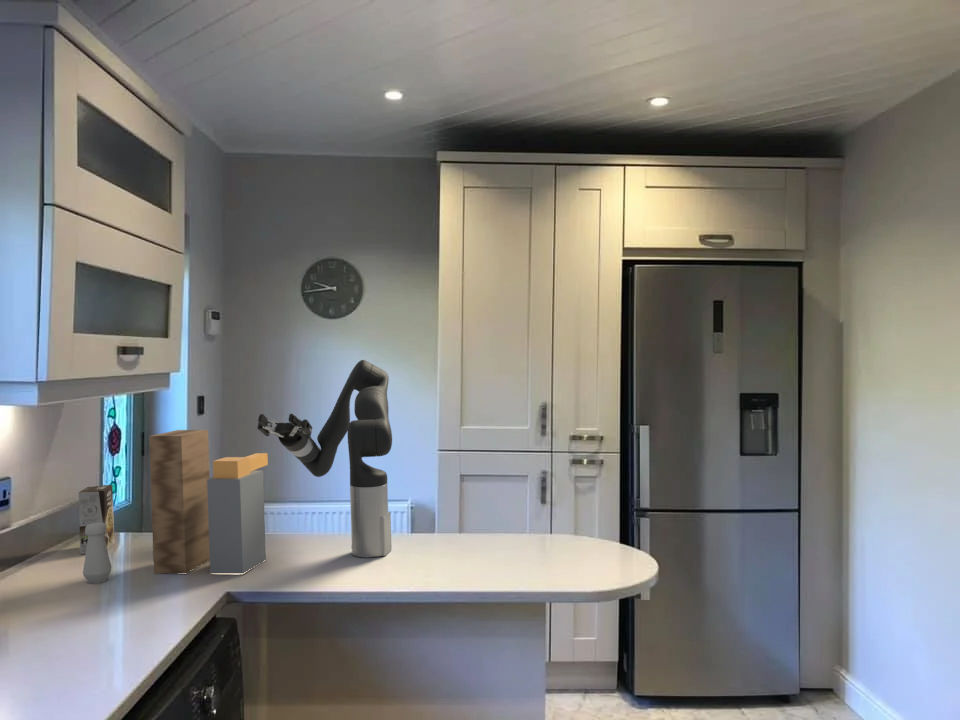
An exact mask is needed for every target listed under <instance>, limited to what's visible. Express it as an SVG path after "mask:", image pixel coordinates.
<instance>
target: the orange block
mask: <svg viewBox="0 0 960 720" xmlns="http://www.w3.org/2000/svg"><path fill="white" fill-rule="evenodd" d="M268 459H269V457H268V453H267V452H262V453H261V452H256V453H252V454H251V455H247V456H242V457H241V456H227V457H222V458H218V459H216V460H215V459H214V460H212V470H213V471H212V472H213V474H212V477H214V478H232V479H238V478H241V477H243V476H246V475H249V474H250V471H253V470H258V469H260V468H261V469H262V468H263V467H267V466H268V465H269V463H268V462H269V461H268Z"/></svg>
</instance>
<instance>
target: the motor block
mask: <svg viewBox="0 0 960 720" xmlns="http://www.w3.org/2000/svg"><path fill="white" fill-rule="evenodd" d="M264 488H265V487H264V470H261V469H260V470H258V469H256V470H253V471H250V474H249V475H246V476H243V477H241V478H238V479H232V478H214V476H212V477H210V478H209V479H207V493H208V524H209V555H210V561H209V574H210V573H244V572H246V571H248V570H249V569H251V568H253V567H254V566H256V565H258V564H259V563H261V562H263V561H264V560H266V561H267V558H266V557H267V555H266V522H265V518H266V517H265V489H264ZM264 562H265V561H264ZM264 562H263V563H264ZM261 564H262V563H261ZM258 566H259V565H258Z"/></svg>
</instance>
